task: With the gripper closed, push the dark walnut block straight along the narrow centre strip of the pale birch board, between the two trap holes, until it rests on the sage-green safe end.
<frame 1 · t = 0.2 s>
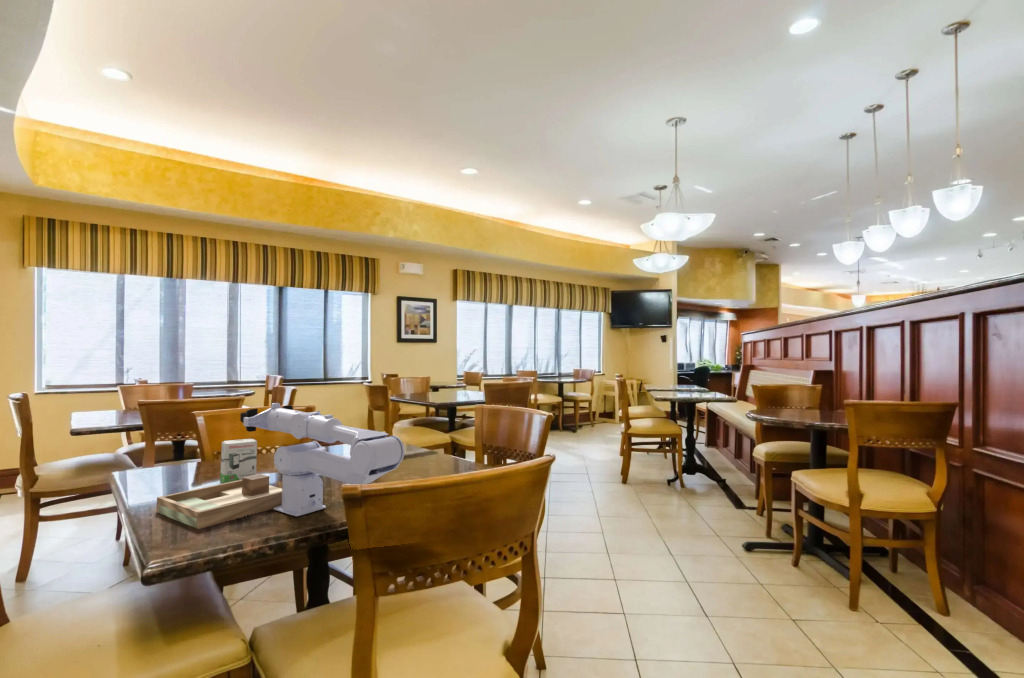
hand: (256, 415, 130), 21 cm above the table, tool horizontal, fingers open, 7 cm apart
walnut block: (255, 492, 125), point 2 cm above the table, touching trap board
ink box: (238, 481, 144), on the table
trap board: (231, 506, 120), on the table
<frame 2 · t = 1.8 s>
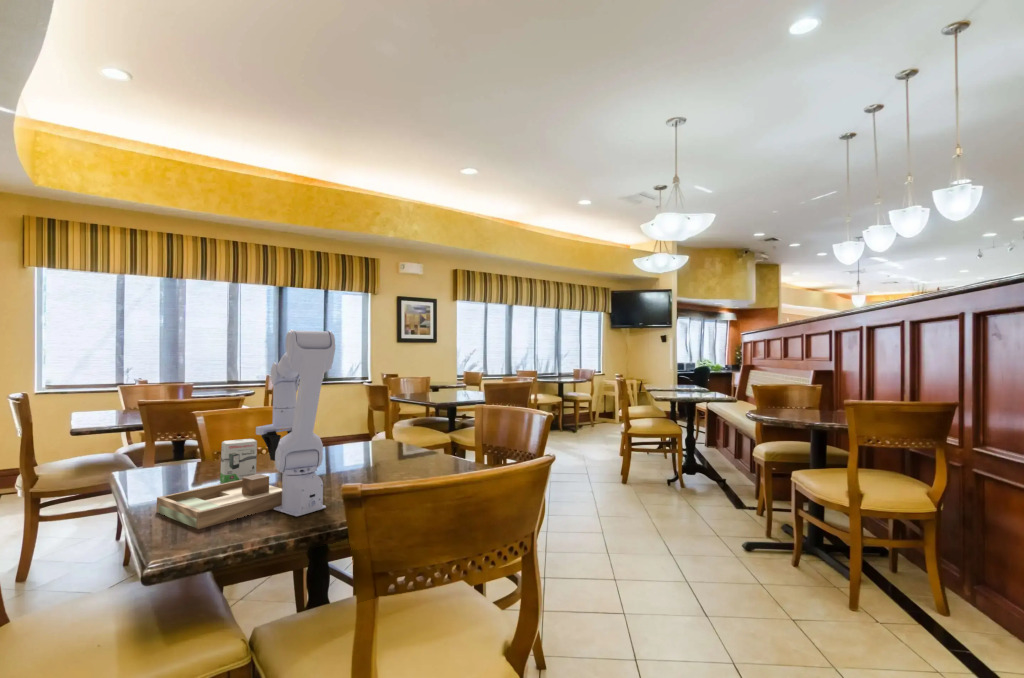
hand: (283, 458, 131), 9 cm above the table, tool pointing down, fingers open, 5 cm apart
nothing on the table moved.
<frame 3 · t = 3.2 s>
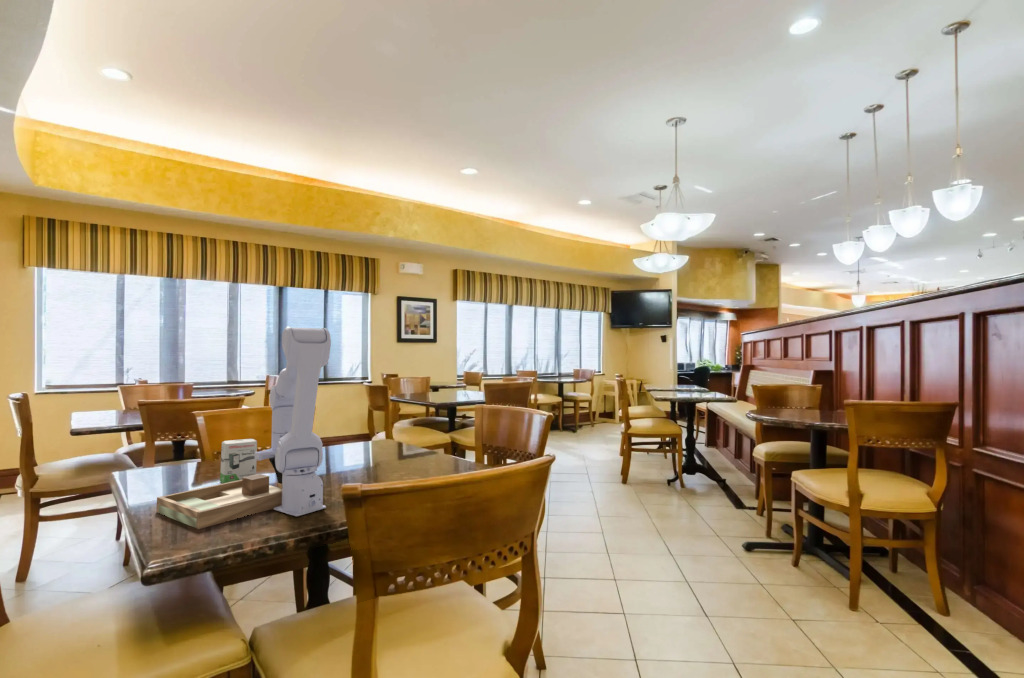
hand: (282, 482, 131), 3 cm above the table, tool pointing down, fingers closed
nothing on the table moved.
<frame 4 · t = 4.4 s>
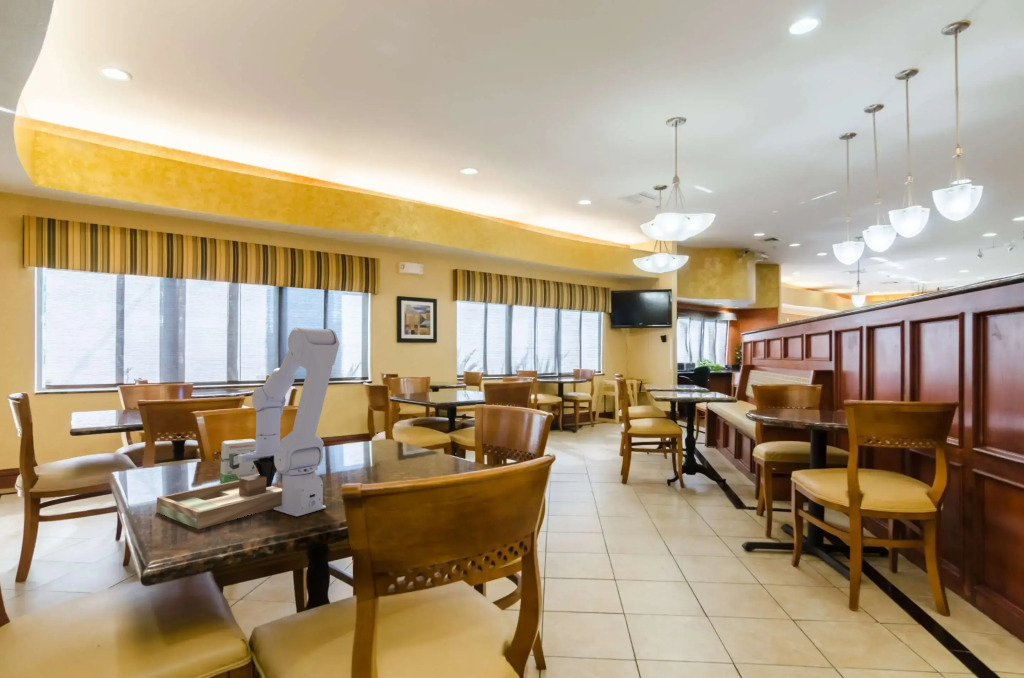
hand: (266, 486, 127), 3 cm above the table, tool pointing down, fingers closed
walnut block: (252, 493, 124), point 2 cm above the table, touching gripper, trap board
everything else where it was.
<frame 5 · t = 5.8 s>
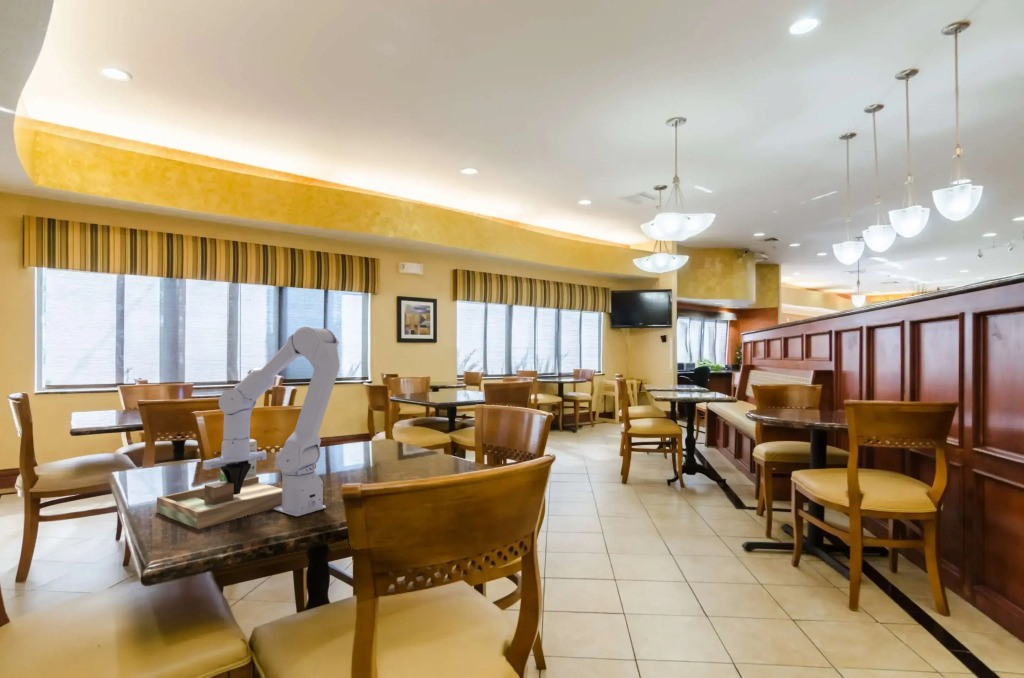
hand: (235, 493, 120), 3 cm above the table, tool pointing down, fingers closed
walnut block: (218, 501, 117), point 2 cm above the table, touching gripper, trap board
everything else where it was.
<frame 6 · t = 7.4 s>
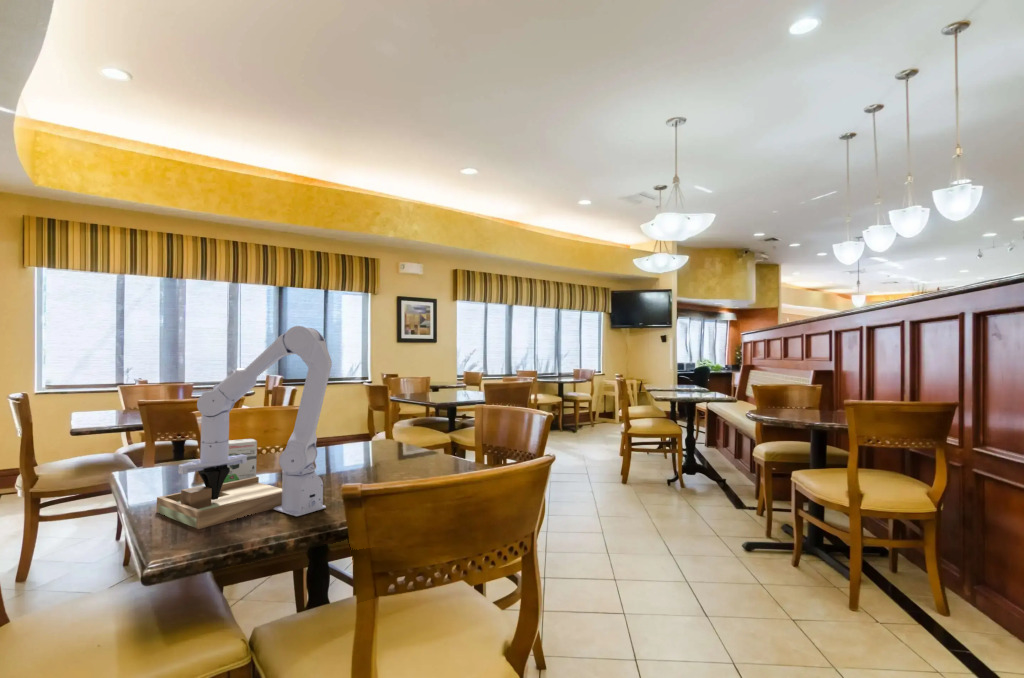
hand: (213, 498, 116), 3 cm above the table, tool pointing down, fingers closed
walnut block: (196, 506, 113), point 2 cm above the table, touching gripper, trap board
everything else where it was.
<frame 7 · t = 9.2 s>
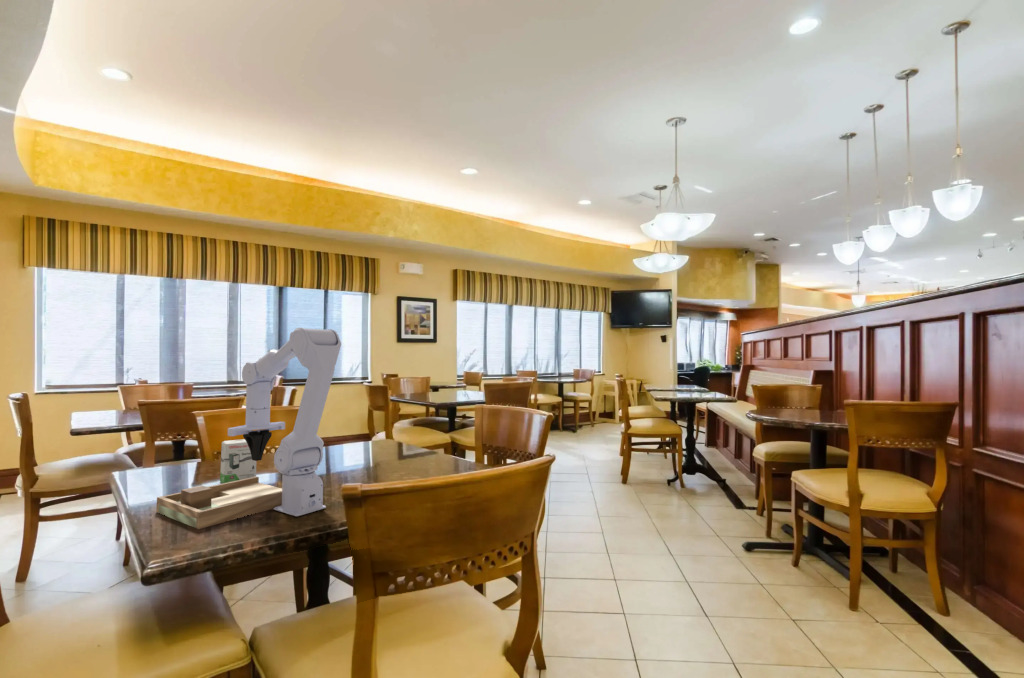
hand: (256, 460, 128), 9 cm above the table, tool pointing down, fingers closed
walnut block: (196, 506, 113), point 2 cm above the table, touching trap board
everything else where it was.
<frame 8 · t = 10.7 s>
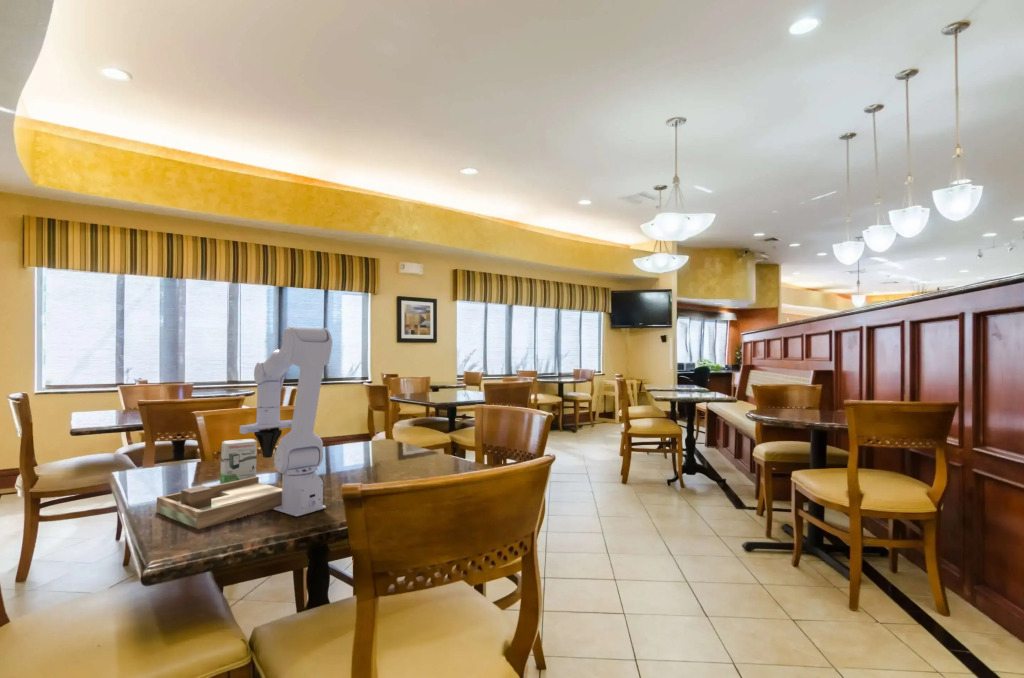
hand: (267, 457, 133), 9 cm above the table, tool pointing down, fingers closed
nothing on the table moved.
at the end: walnut block 0.1 cm from the target spot, point 2.0 cm above the table; walnut block tilted 0°; walnut block touching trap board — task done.
